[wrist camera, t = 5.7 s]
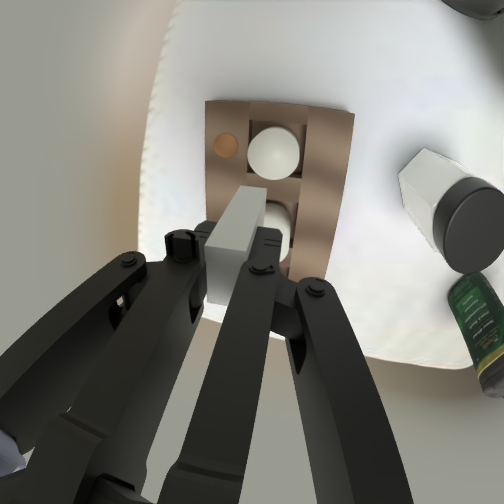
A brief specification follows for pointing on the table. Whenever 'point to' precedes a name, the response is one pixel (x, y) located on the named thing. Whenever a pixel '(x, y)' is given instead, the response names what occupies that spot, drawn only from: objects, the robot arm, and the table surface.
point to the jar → (454, 211)
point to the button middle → (279, 224)
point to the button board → (291, 187)
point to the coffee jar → (481, 329)
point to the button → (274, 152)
